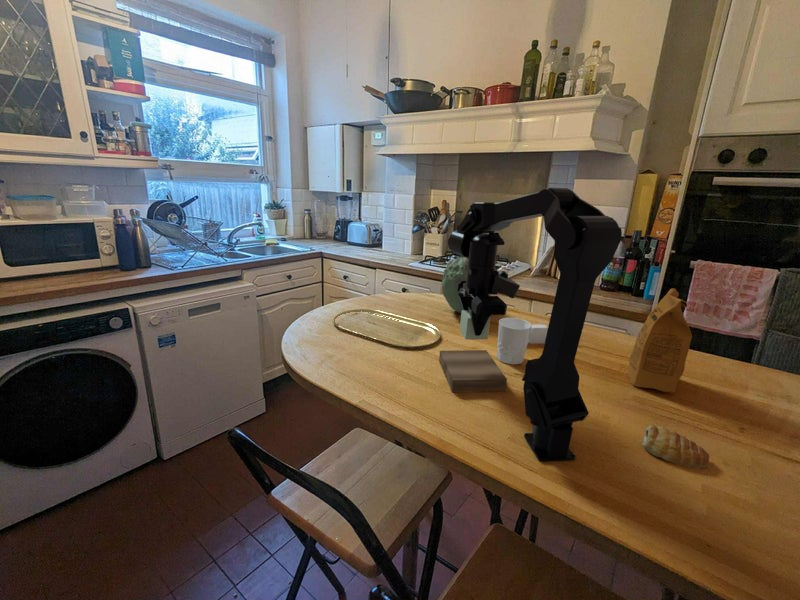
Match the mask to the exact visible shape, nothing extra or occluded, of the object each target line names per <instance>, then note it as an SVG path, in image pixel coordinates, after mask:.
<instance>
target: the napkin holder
mask: <svg viewBox="0 0 800 600" xmlns="http://www.w3.org/2000/svg"><path fill="white" fill-rule="evenodd" d="M531 325H532V327H531V331H530V336H529V341H528V344H531V345H532V344H534V345H535V344H545V339H546V335H547V330H548V326H546V325H545V324H531Z"/></svg>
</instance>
